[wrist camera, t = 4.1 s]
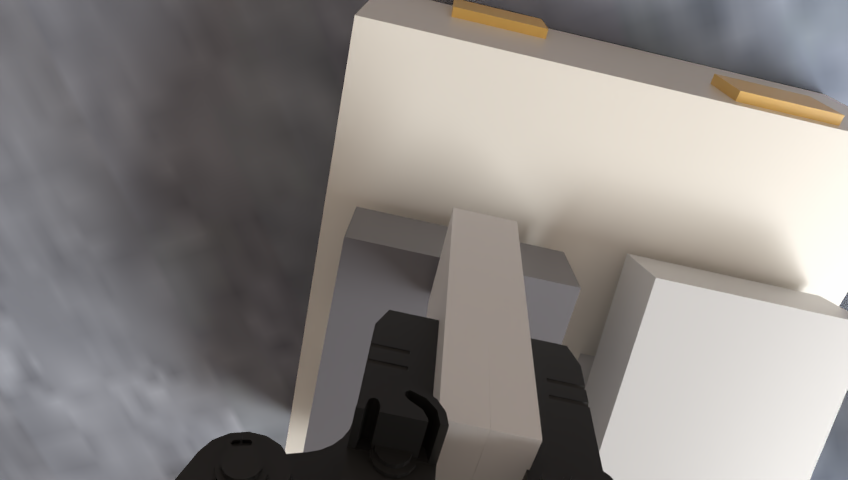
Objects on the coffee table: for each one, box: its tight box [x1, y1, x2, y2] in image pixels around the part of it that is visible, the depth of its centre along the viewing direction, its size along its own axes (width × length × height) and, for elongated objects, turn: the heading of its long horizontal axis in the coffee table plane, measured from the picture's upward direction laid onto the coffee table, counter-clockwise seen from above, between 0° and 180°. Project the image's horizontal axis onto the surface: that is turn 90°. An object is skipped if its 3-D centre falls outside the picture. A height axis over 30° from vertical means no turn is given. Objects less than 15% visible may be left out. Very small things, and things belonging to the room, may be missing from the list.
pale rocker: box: [585, 254, 848, 480], centre depth 19 cm, size 6×10×2 cm, turn 168°
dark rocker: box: [303, 207, 581, 452], centre depth 19 cm, size 6×10×2 cm, turn 168°
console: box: [285, 0, 848, 454], centre depth 24 cm, size 16×20×7 cm
